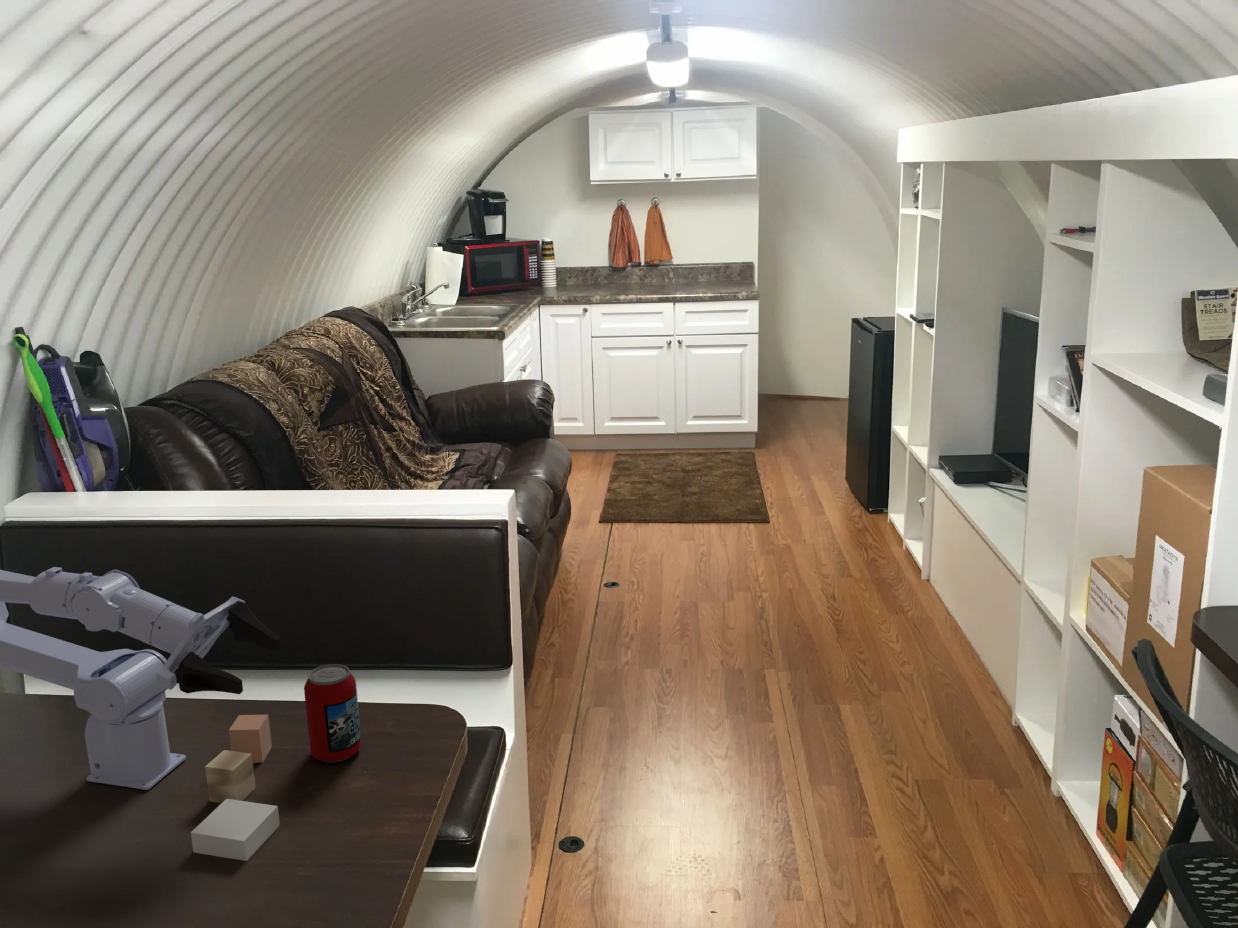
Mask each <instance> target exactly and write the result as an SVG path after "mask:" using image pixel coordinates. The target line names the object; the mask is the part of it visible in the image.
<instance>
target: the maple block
mask: <svg viewBox="0 0 1238 928" xmlns="http://www.w3.org/2000/svg"><path fill="white" fill-rule="evenodd" d="M204 767H205V768H204V769H205V775H206V782H207V783H206V785H207V790H208V797H209V799H208V800H209V802H210V803H211V802H213V803H218V804H221V803H222V802H223V801H225V800H226V799H232V800H239V801H245V799H246V798H247V797H249V795H250V794H251V793H252V792H253V791H254V790H255V789H256V788H257V787H256V780H255V779H256V777H255V770H254V769H255V768H254V763H253V760H252V754H250V753H243V752H236V751H231V750H228V749H227V750H225V749H224V750H222V751H221V752H220V753H219V754H218V755H217V756H215V757H214V758H213V759H212V760H210V762H208V764H206V765H205V766H204Z"/></svg>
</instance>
